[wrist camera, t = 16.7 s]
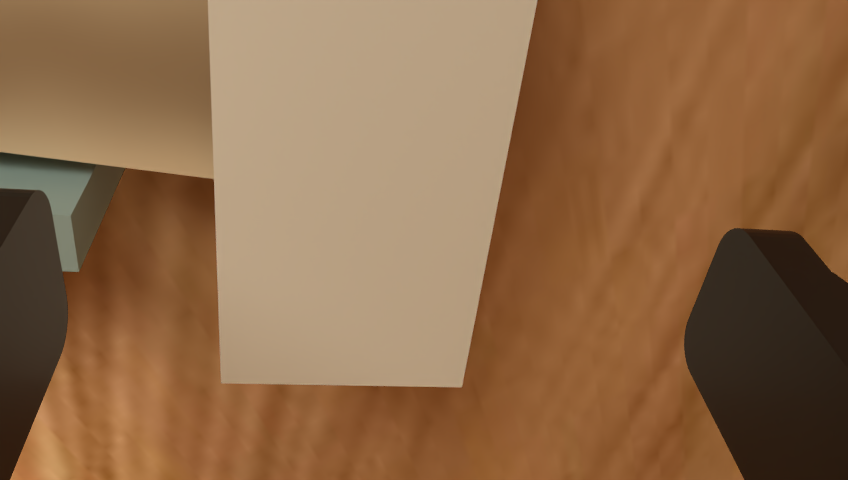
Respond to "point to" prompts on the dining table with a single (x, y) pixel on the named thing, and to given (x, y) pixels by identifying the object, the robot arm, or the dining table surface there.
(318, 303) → the white bridge block
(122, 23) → the cream long bar
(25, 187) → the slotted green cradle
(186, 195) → the dining table surface
